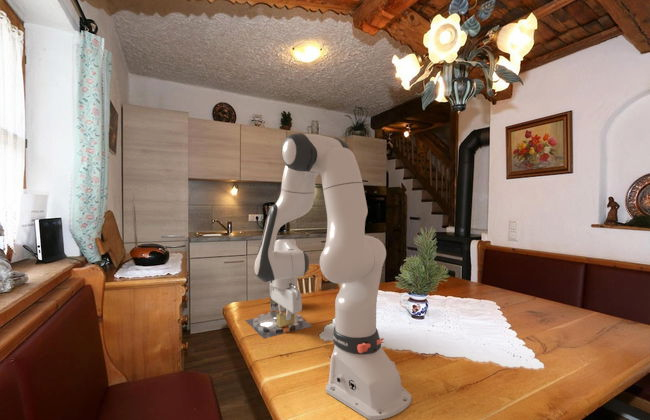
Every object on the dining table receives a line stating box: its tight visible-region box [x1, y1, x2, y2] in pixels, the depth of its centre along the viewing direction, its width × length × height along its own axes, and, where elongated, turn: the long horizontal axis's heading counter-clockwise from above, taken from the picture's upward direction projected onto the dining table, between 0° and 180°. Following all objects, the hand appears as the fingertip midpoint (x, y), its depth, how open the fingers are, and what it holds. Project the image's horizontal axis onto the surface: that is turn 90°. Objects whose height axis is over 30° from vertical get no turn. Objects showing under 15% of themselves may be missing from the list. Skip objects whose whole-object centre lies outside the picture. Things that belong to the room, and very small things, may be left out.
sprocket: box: [253, 308, 304, 334], centre depth 119 cm, size 19×19×6 cm
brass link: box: [276, 312, 294, 327], centre depth 113 cm, size 3×6×4 cm, turn 123°
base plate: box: [245, 317, 313, 339], centre depth 119 cm, size 20×20×1 cm
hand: (285, 317), depth 113 cm, fingers closed on brass link, 3 cm apart
